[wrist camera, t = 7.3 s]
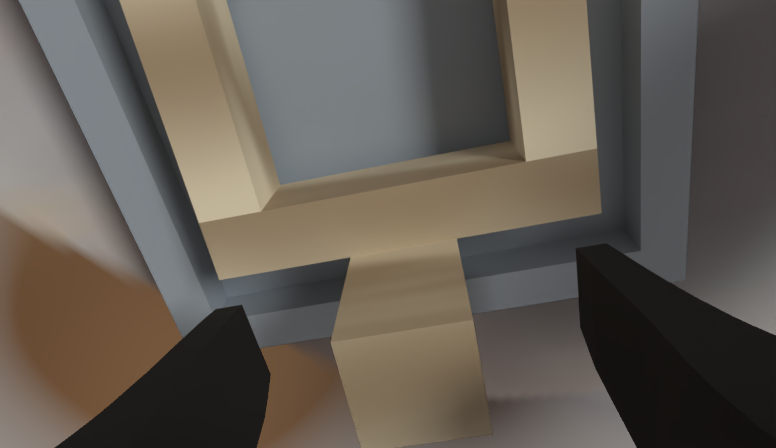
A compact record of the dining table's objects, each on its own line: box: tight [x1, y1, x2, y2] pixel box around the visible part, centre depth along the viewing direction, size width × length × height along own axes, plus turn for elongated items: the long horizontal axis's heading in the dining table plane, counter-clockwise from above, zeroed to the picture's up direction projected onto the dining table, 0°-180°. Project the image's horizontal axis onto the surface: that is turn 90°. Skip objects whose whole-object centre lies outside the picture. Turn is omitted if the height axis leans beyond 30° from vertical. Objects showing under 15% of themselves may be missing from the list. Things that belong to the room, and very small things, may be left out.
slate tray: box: [19, 0, 699, 348], centre depth 13 cm, size 14×14×2 cm
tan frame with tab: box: [119, 0, 602, 448], centre depth 11 cm, size 12×9×6 cm
